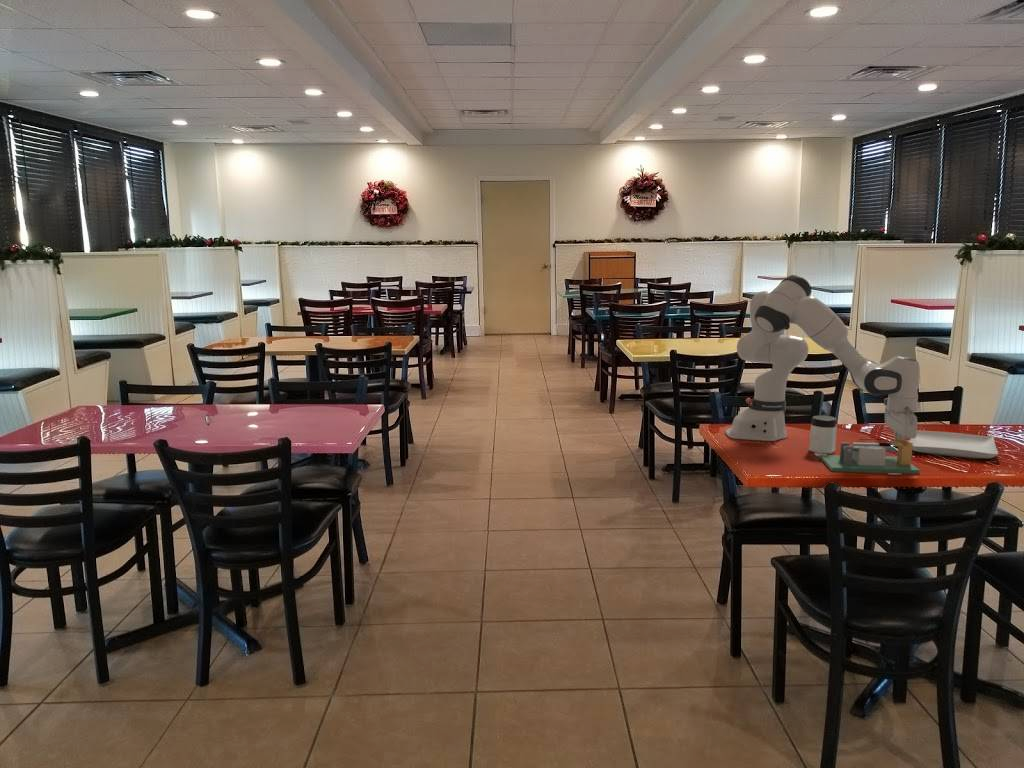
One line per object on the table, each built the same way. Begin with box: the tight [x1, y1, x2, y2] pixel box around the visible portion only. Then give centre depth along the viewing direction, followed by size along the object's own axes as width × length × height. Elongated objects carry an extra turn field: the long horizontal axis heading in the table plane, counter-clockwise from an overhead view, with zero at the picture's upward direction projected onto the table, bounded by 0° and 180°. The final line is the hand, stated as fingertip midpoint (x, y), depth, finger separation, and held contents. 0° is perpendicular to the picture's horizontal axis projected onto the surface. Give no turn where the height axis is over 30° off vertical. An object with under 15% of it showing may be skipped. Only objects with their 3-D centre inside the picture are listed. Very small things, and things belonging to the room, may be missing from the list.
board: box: [818, 441, 921, 475], centre depth 263 cm, size 27×16×7 cm, turn 83°
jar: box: [809, 415, 838, 455], centre depth 282 cm, size 9×8×12 cm
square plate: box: [909, 429, 999, 460], centre depth 284 cm, size 27×27×4 cm
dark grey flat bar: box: [842, 445, 897, 453], centre depth 263 cm, size 16×3×1 cm, turn 83°
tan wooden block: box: [889, 439, 913, 465], centre depth 261 cm, size 6×4×7 cm
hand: (898, 445), depth 266 cm, fingers closed
